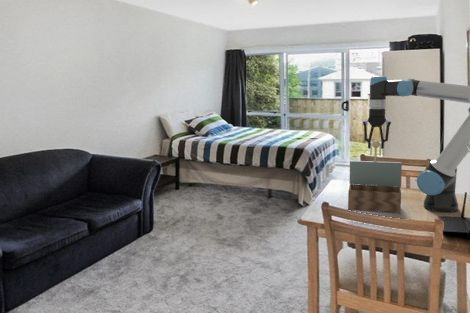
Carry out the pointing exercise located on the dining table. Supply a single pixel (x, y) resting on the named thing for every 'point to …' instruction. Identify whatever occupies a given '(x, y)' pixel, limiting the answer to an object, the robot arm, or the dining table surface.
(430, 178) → the robot arm
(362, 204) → the storage box
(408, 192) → the dining table surface
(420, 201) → the dining table surface
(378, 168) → the box lid
